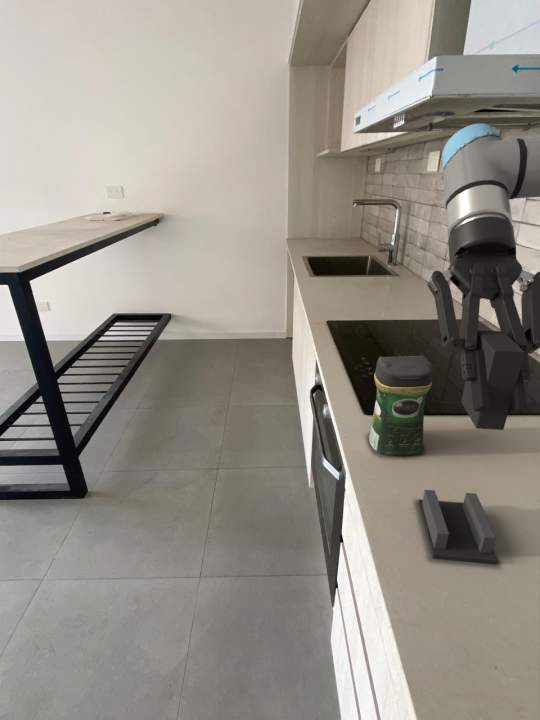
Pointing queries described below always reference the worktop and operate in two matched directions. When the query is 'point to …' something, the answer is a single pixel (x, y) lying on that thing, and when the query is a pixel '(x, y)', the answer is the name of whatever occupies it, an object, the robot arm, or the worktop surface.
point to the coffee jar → (400, 405)
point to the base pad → (457, 529)
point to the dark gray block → (495, 379)
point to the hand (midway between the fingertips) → (499, 409)
